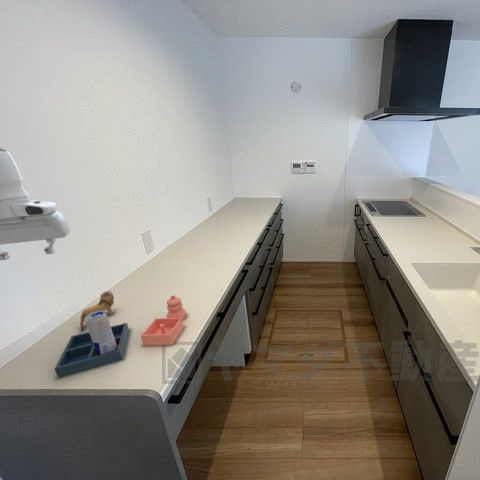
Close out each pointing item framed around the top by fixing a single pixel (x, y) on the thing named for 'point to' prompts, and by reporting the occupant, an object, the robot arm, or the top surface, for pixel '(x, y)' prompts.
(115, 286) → the top surface
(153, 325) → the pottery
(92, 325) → the beverage can
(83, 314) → the lion figurine
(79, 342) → the grid
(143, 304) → the top surface
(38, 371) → the top surface
